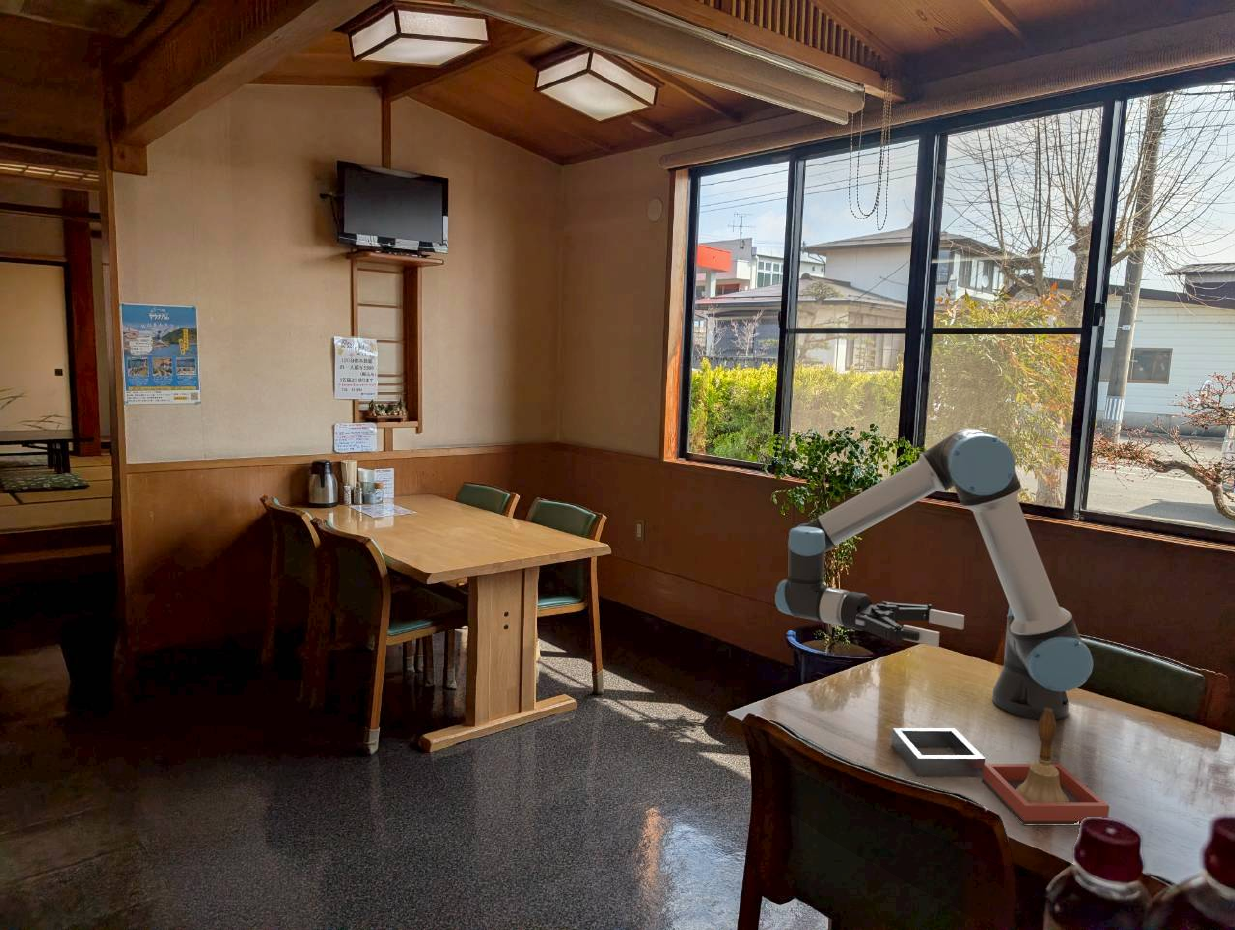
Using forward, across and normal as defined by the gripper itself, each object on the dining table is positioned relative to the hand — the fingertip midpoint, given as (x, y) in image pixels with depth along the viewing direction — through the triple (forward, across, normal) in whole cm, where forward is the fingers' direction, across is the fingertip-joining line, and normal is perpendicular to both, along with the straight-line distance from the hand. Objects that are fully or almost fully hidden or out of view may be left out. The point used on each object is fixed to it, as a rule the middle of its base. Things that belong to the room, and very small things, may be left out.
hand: (951, 630), depth 157 cm
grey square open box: (0, +6, -24) cm, 24 cm away
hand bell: (+19, +8, -24) cm, 32 cm away
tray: (+19, +8, -24) cm, 32 cm away
